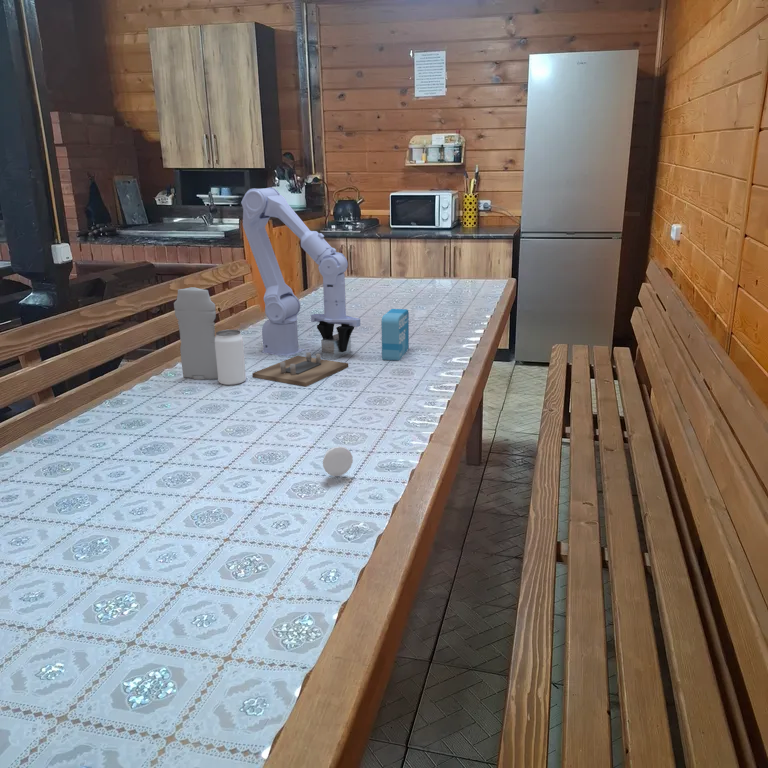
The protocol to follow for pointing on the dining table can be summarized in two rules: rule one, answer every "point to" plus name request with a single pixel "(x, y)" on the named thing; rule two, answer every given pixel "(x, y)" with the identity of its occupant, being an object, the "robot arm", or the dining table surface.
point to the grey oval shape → (337, 461)
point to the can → (230, 357)
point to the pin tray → (301, 370)
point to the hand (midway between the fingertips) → (336, 350)
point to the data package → (395, 334)
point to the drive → (333, 347)
